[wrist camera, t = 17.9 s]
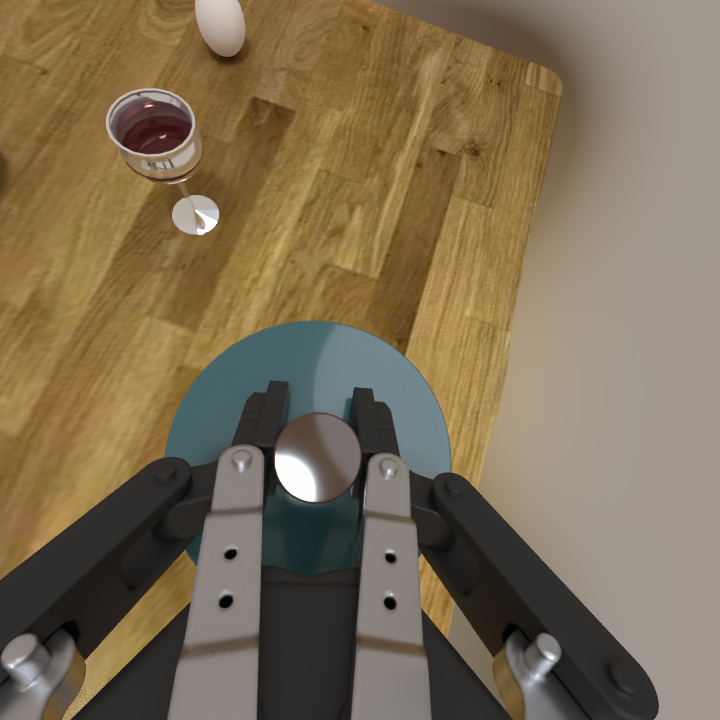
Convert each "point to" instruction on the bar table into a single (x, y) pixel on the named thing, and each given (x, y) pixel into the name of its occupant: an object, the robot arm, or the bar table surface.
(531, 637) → the robot arm
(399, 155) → the bar table surface
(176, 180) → the wineglass
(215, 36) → the egg
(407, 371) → the lid with knob
